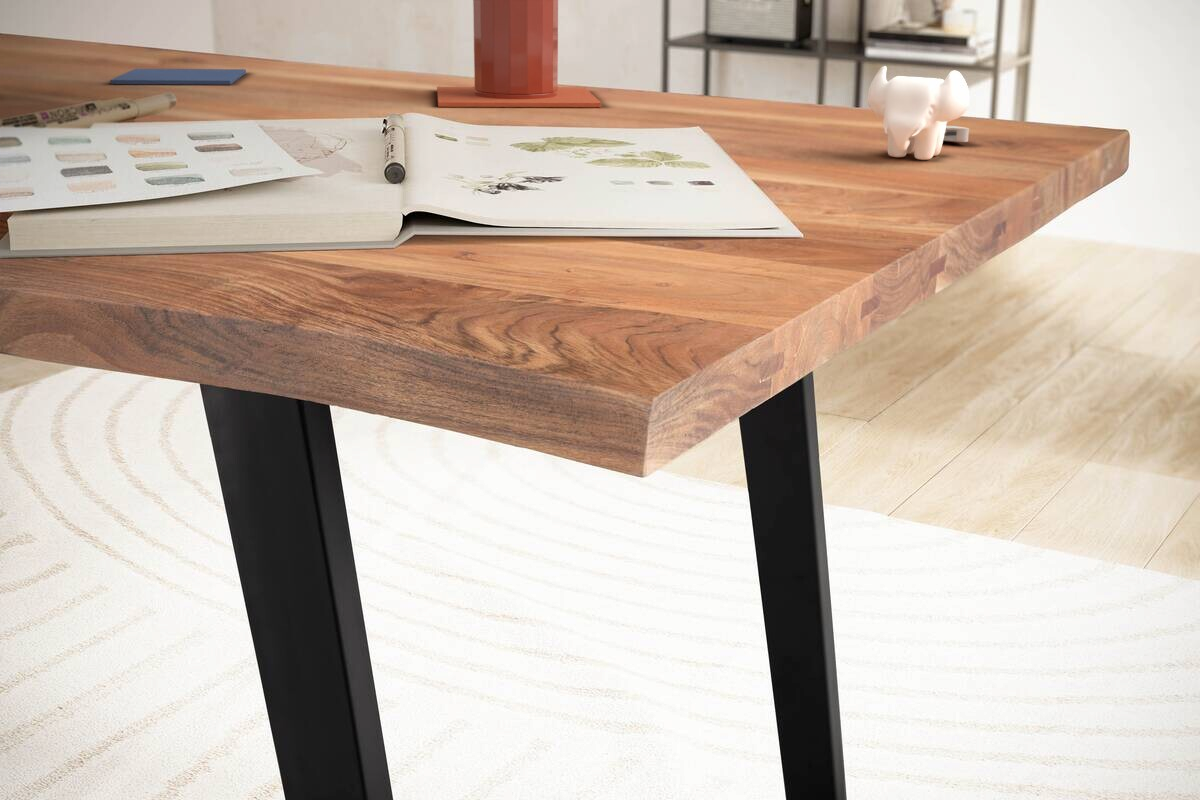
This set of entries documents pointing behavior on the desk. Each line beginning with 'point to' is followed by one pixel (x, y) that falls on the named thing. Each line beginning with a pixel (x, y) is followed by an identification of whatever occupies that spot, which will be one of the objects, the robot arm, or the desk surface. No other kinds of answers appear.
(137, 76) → the blue mat
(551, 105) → the terracotta mat
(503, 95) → the terracotta cup
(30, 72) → the desk surface
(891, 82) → the elephant figurine
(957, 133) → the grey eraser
